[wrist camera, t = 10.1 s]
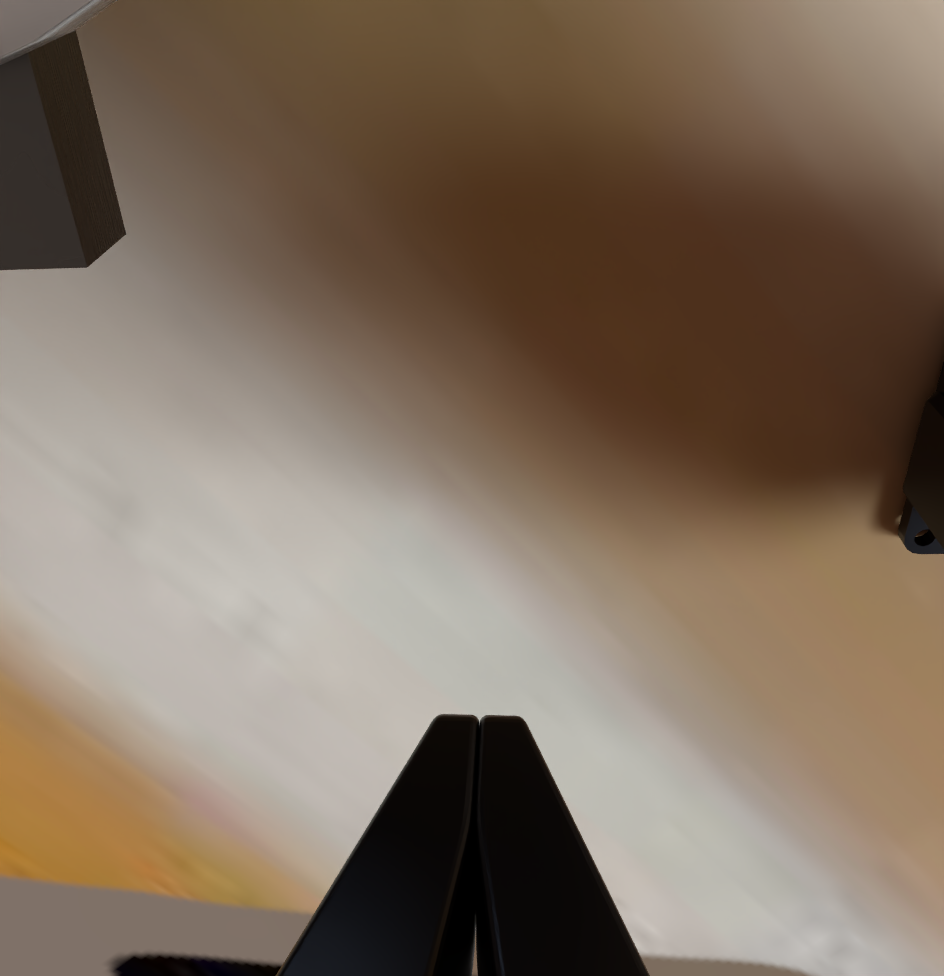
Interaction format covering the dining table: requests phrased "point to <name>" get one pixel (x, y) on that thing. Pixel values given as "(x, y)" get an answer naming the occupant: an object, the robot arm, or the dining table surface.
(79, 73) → the cooker
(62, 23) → the lid
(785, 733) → the dining table surface
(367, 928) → the robot arm
